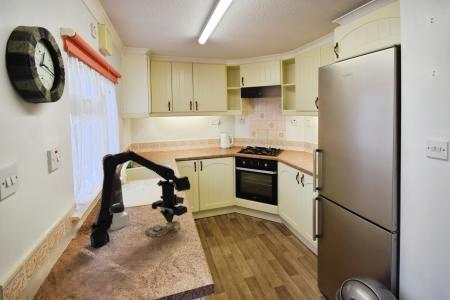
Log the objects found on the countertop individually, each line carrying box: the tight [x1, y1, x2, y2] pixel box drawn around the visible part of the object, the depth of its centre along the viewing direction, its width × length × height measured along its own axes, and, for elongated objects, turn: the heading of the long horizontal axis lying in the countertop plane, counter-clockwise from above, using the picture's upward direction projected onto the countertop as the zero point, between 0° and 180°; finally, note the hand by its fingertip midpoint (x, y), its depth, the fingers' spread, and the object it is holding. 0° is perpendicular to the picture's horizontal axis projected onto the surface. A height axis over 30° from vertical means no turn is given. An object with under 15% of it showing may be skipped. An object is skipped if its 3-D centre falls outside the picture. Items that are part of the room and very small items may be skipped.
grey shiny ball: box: [153, 224, 162, 232], centre depth 121 cm, size 3×3×3 cm
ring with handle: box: [147, 219, 182, 238], centre depth 122 cm, size 15×9×3 cm, turn 116°
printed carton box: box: [110, 203, 130, 231], centre depth 130 cm, size 7×7×12 cm
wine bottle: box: [110, 171, 124, 211], centre depth 143 cm, size 7×7×30 cm
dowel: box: [174, 224, 179, 233], centre depth 121 cm, size 2×2×3 cm
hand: (170, 224), depth 126 cm, fingers closed
